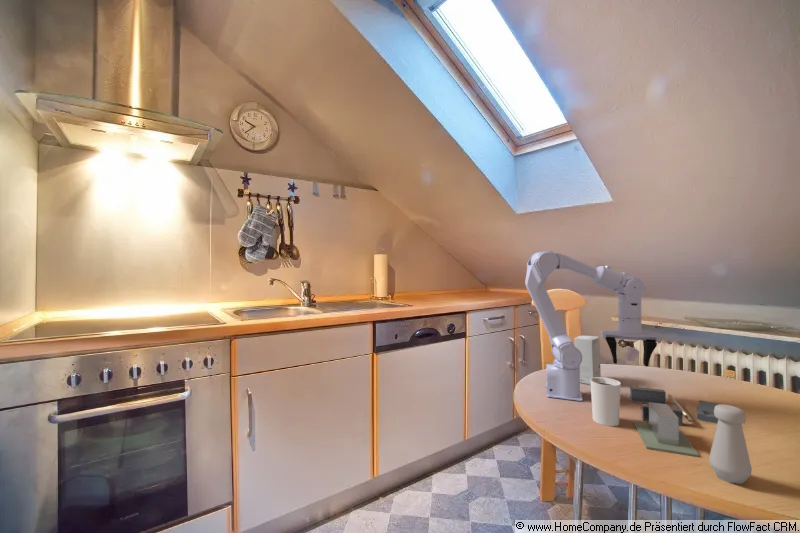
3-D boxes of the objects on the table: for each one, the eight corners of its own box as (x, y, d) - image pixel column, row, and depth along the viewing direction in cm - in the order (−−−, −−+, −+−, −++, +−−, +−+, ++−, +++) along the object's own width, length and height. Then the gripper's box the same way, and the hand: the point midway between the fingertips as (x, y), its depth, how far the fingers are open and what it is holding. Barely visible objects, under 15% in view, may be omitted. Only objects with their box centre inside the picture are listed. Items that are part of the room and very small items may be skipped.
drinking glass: (624, 428, 85) (623, 387, 85) (593, 424, 87) (592, 384, 87) (617, 417, 91) (617, 378, 91) (588, 413, 93) (588, 376, 93)
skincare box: (593, 386, 114) (593, 340, 114) (573, 382, 119) (573, 337, 118) (601, 379, 120) (600, 336, 120) (582, 376, 125) (581, 333, 125)
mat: (646, 448, 76) (646, 446, 76) (633, 423, 88) (633, 421, 88) (699, 457, 72) (699, 455, 72) (678, 429, 84) (678, 427, 84)
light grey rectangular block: (658, 442, 77) (658, 415, 77) (649, 427, 84) (648, 402, 84) (678, 446, 76) (678, 417, 76) (667, 429, 83) (667, 404, 83)
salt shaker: (700, 469, 68) (699, 401, 68) (728, 467, 68) (727, 400, 68) (731, 488, 62) (730, 414, 62) (761, 486, 62) (760, 412, 62)
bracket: (719, 411, 95) (719, 403, 95) (718, 425, 87) (718, 417, 87) (699, 407, 98) (699, 400, 98) (696, 421, 89) (696, 412, 89)
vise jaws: (643, 420, 89) (643, 406, 89) (630, 398, 104) (630, 386, 104) (693, 427, 85) (692, 412, 85) (672, 403, 100) (672, 390, 100)
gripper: (603, 318, 103) (603, 365, 103) (663, 321, 97) (664, 370, 97) (600, 315, 110) (600, 359, 110) (656, 317, 104) (657, 363, 104)
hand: (630, 364), depth 104 cm, fingers open, 7 cm apart
